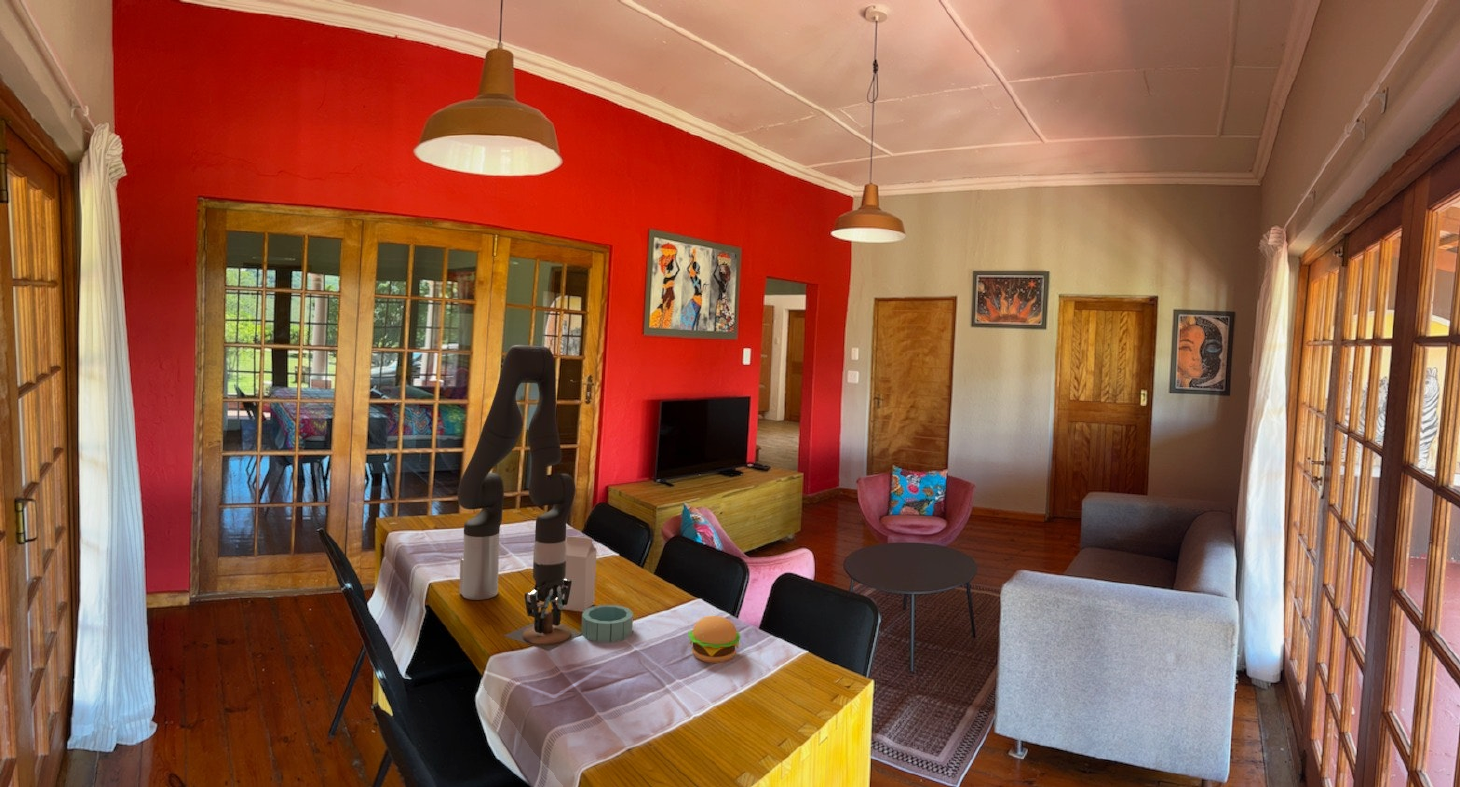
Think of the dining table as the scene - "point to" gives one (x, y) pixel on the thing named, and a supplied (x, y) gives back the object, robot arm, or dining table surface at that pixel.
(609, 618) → the bowl
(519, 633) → the mat
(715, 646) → the hamburger
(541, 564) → the robot arm
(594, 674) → the dining table surface
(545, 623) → the lid
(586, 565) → the milk carton
